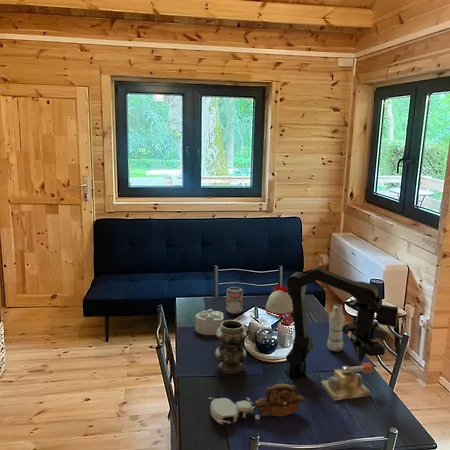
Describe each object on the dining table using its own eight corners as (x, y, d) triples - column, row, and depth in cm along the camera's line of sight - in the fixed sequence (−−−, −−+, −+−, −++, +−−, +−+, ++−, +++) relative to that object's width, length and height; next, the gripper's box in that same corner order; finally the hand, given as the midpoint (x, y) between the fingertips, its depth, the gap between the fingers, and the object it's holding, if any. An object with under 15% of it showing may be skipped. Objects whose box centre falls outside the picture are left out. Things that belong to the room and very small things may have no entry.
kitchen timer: (290, 318, 218) (292, 289, 215) (263, 314, 222) (264, 286, 219) (294, 307, 232) (295, 280, 228) (268, 304, 235) (269, 278, 232)
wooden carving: (258, 423, 139) (259, 394, 137) (253, 414, 143) (254, 386, 141) (305, 414, 144) (307, 387, 142) (299, 406, 148) (301, 379, 146)
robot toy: (248, 404, 150) (205, 408, 146) (249, 392, 149) (207, 395, 145) (261, 427, 138) (215, 432, 134) (262, 414, 138) (216, 418, 133)
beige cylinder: (242, 315, 220) (243, 293, 218) (225, 315, 220) (226, 292, 218) (242, 308, 229) (242, 286, 227) (226, 308, 229) (226, 286, 227)
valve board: (333, 400, 151) (335, 383, 150) (320, 384, 161) (321, 368, 160) (369, 395, 155) (371, 378, 154) (354, 380, 164) (356, 363, 163)
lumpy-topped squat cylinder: (223, 335, 199) (223, 317, 197) (194, 334, 198) (194, 316, 197) (223, 325, 209) (223, 308, 207) (195, 325, 209) (195, 307, 207)
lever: (367, 368, 160) (368, 362, 160) (372, 372, 157) (373, 366, 157) (339, 371, 158) (340, 364, 157) (344, 375, 155) (344, 369, 154)
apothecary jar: (252, 367, 172) (253, 324, 168) (231, 379, 163) (232, 334, 160) (229, 356, 180) (230, 315, 176) (208, 367, 171) (209, 324, 168)
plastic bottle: (343, 354, 183) (346, 309, 179) (326, 352, 185) (329, 307, 181) (342, 347, 190) (346, 303, 185) (326, 345, 191) (329, 302, 187)
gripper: (402, 330, 145) (395, 373, 149) (370, 308, 163) (365, 346, 166) (372, 333, 143) (366, 376, 146) (343, 309, 160) (339, 348, 164)
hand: (359, 361), depth 156 cm, fingers closed
